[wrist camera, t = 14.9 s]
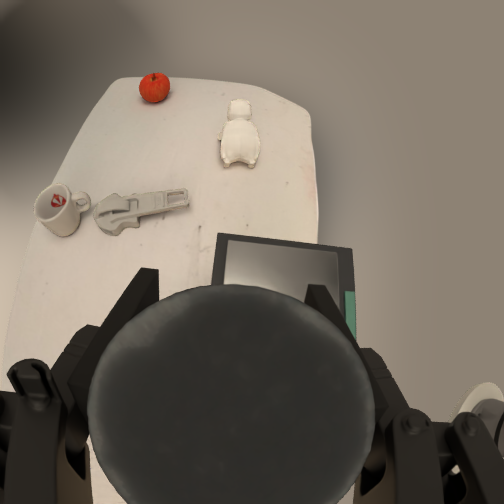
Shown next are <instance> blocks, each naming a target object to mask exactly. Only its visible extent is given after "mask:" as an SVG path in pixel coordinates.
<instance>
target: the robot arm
mask: <svg viewBox="0 0 504 504" xmlns="http://www.w3.org/2000/svg"><path fill="white" fill-rule="evenodd" d="M157 301H159V270H158V269H150V268H140V270H139V271H138V273H137V274H136V275H135V277H134V278H133V279H132V281H131V282H130V284H129V285H128V287H127V288H126V289H125V291H124V292H123V294H122V295H121V297H120V298H119V300H118V301H117V303H116V304H115V305H114V307H113V308H112V310H111V311H110V313H109V314H108V316H107V317H106V319H105V321H104V322H103V324H102V325H101V327H98V326H93V325H88V324H87V325H86V326H84V327H83V328H81V329H80V330H79V331H77V332H76V333H75V335H74V336H73V337H72V339H71V340H70V343H69V344H68V345H67V346H66V347H65V349H64V352H62V353H61V355H60V356H59V358H58V359H57V361H56V362H55V364H54V365H53V367H52V368H51V370H50V369H49V367H48V365H47V364H45V363H44V362H43V361H41V360H37V359H24V360H22V361H19V362H17V363H15V364H14V365H13V366H12V367H11V368H10V369H9V371H8V373H7V376H8V378H9V380H10V382H11V384H12V386H13V388H14V390H15V391H16V392H7V391H0V504H93V498H92V487H91V473H90V451H89V447H88V444H87V443H86V441H87V438H88V436H89V430H88V427H89V426H88V415H87V401H88V394H89V387H90V385H91V382H92V377H93V375H94V372H95V369H96V366H97V364H98V362H99V360H100V358H101V355H102V353H103V352H104V351H105V349H106V347H107V345H108V343H109V342H110V341H111V340H112V339H113V337H114V336H115V335H116V333H117V332H119V331H120V330H121V329H122V327H123V326H124V325H125V324H126V323H127V322H128V321H130V320H131V319H132V318H133V317H134V316H136V315H137V314H138V313H140V312H141V311H143V310H144V309H145V308H147V307H148V306H150V305H152V304H154V303H156V302H157ZM304 303H305V304H307V305H308V306H310V307H312V308H314V309H315V310H317V311H318V312H320V313H321V314H322V315H324V316H325V317H326V318H327V319H329V320H330V321H331V322H332V323H333V324H334V325H336V326H337V327H338V328H339V329H340V331H341V332H342V333H343V334H344V335H345V336H346V337H347V338H348V340H349V341H350V342H351V343H352V345H353V347H354V349H355V350H356V352H357V354H358V355H359V356H360V358H361V360H362V362H363V364H364V366H365V369H366V371H367V373H368V376H369V380H370V383H371V387H372V390H373V398H374V403H375V430H374V435H373V441H372V444H371V451H370V452H369V454H368V457H367V459H366V462H365V463H364V466H363V468H362V471H361V473H360V474H359V476H358V478H357V479H356V481H355V487H354V498H353V504H504V459H503V457H504V402H503V401H500V400H497V399H493V398H490V399H483V400H481V401H480V402H479V403H478V404H476V406H475V407H474V408H473V409H472V411H471V412H461V413H459V414H458V415H457V416H456V417H455V418H454V420H453V421H452V422H451V423H449V422H431V420H430V418H429V417H428V416H427V415H426V414H425V413H423V412H421V411H420V410H417V409H413V408H410V407H409V406H408V404H407V402H406V400H405V398H404V396H403V395H402V393H401V391H400V389H399V387H398V385H397V384H396V382H395V380H394V378H392V375H391V373H390V371H389V370H388V369H387V366H386V364H385V363H384V361H383V359H382V357H381V356H380V355H379V354H377V353H376V352H375V351H374V350H373V349H372V348H360V347H359V346H358V344H357V342H356V340H355V338H354V336H353V334H352V332H351V331H350V329H349V327H348V325H347V323H346V321H345V320H344V318H343V316H342V314H341V312H340V310H339V309H338V307H337V305H336V303H335V301H334V300H333V298H332V296H331V294H330V293H329V291H328V289H327V287H326V285H317V284H308V287H307V291H306V296H305V300H304ZM456 465H458V468H459V470H460V471H459V472H458V473H457V474H455V473H453V471H452V469H453V468H454V467H455V466H456Z"/></svg>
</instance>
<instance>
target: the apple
mask: <svg viewBox="0 0 504 504" xmlns="http://www.w3.org/2000/svg"><path fill="white" fill-rule="evenodd" d="M169 90H170V81H169V79H168V77H167V76H165V75H164V74H162V73H153V74H149V75H147V76H145V77H144V78H143V79H142V80H141V82H140V85H139V91H140V94H141V96H142V97H143V98H144V99H145V100H147V101H149V102H158V101H161V100H163V99H164V98H165V97H166V96H167V94H168V93H169Z"/></svg>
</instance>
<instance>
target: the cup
mask: <svg viewBox="0 0 504 504" xmlns="http://www.w3.org/2000/svg"><path fill="white" fill-rule="evenodd" d="M79 199H84V200H86V204H84V205H79V204H78V203H77V202H76V201H77V200H79ZM90 206H91V200H90V197H89V195H88V194H87V193H85V192H77V193H73V194H72V193H71V192H70V190H69V188H68V187H67V186H66V185H64V184H61V183H57V184H53V185H50V186H48V187H47V188H45V189H44V190H43V191H42V192H41V193H40V195H39V196H38V197H37V200H36V201H35V204H34V215H35V217H36V219H37V220H38V221H39V222H40V223H42V224H43V225H44V226H45V227H47V228H48V229H49V230H50V231H52V232H53V233H54V234H56V235H58V236H62V237H64V236H68V235H70V234H72V233H73V232H74V231H75V230H76V229H77V227H78V225H79V222H80V213H81V212H83V211H86V210H87V209H89V208H90Z"/></svg>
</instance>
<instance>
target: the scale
mask: <svg viewBox="0 0 504 504" xmlns="http://www.w3.org/2000/svg"><path fill="white" fill-rule="evenodd" d="M217 284H241V285H249V286H258V287H262V288H265V289H269V290H273V291H276V292H279V293H282V294H286V295H289V296H291V297H294V298H296V299H298V300H300V301H301V302H303V303H304V300H305V296H306V291H307V287H308V284H317V285H326V287H327V289H328V291H329V293H330V294H331V296H332V298H333V300H334V301H335V303H336V305H337V307H338V309H339V310H340V312H341V314H342V316H343V318H344V320H345V321H346V323H347V325H348V327H349V329H350V331H351V332H352V334H353V336H354V338H355V340H356V305H355V283H354V267H353V254H352V249H351V248H343V247H335V246H327V245H319V244H311V243H303V242H295V241H286V240H278V239H270V238H261V237H252V236H244V235H235V234H226V233H218V234H217V242H216V249H215V257H214V265H213V273H212V282H211V285H217Z"/></svg>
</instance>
